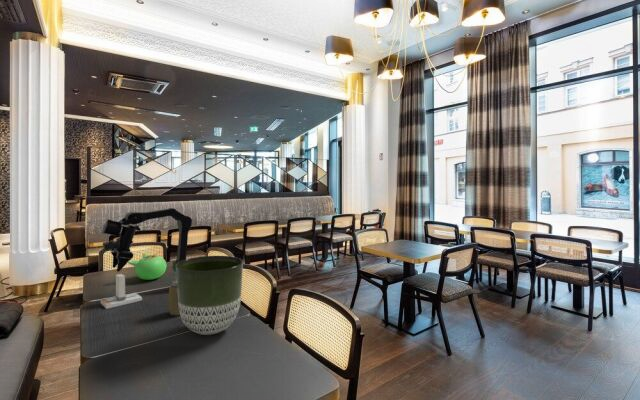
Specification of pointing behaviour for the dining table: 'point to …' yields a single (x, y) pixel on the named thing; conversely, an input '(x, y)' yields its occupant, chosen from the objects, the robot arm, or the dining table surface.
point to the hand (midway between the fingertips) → (115, 269)
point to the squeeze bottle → (173, 299)
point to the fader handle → (120, 287)
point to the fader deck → (115, 302)
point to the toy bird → (149, 267)
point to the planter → (209, 292)
